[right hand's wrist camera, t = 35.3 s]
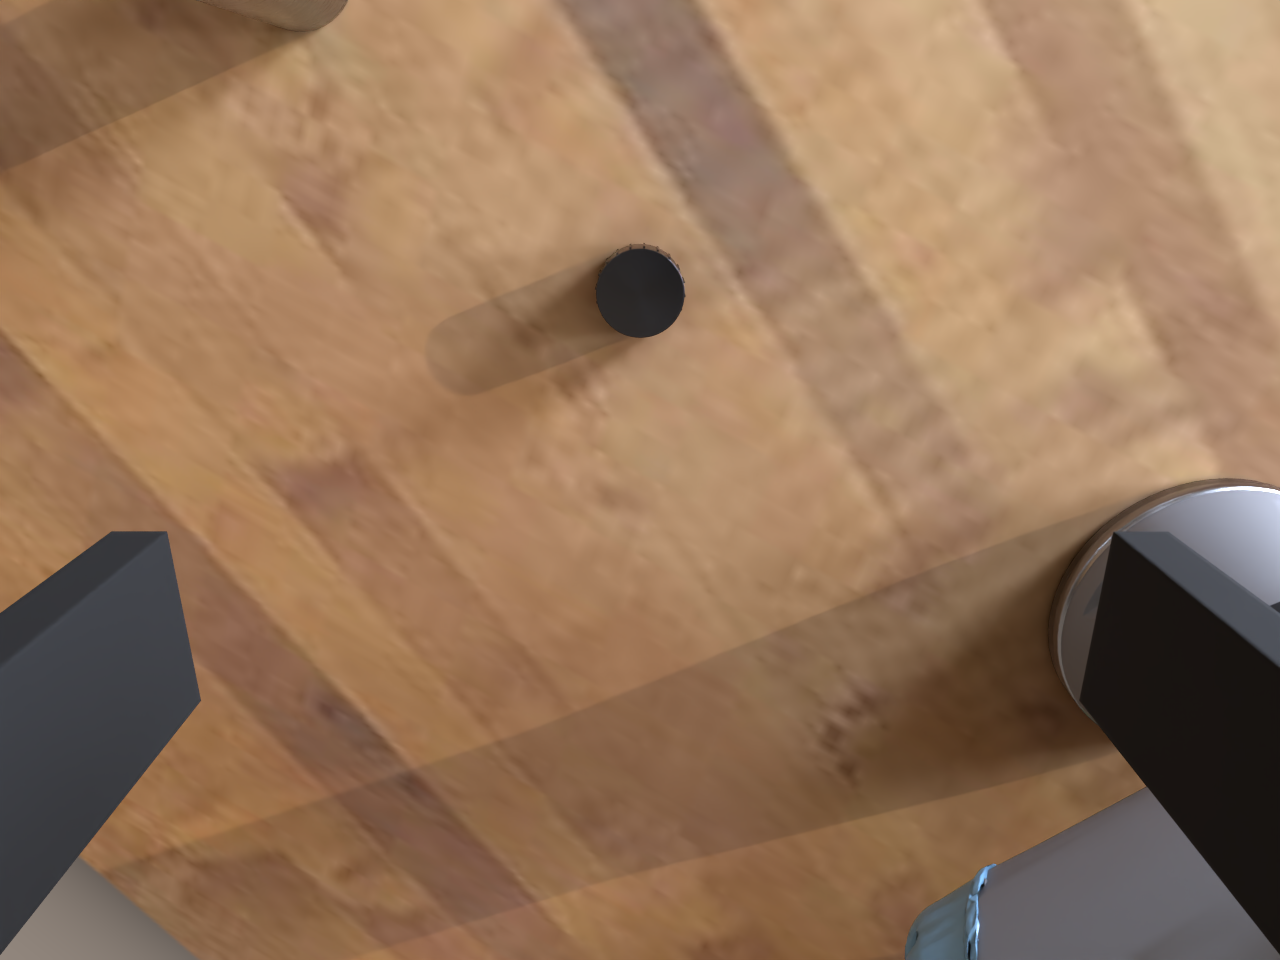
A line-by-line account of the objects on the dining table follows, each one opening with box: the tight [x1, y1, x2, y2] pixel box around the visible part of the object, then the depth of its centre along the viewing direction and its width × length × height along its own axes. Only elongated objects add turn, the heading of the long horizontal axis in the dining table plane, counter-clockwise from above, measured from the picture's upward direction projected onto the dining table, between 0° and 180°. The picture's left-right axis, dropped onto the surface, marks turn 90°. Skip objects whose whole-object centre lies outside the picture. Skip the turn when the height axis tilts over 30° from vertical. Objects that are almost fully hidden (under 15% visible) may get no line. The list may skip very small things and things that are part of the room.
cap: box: [595, 243, 685, 338], centre depth 41 cm, size 4×4×2 cm
